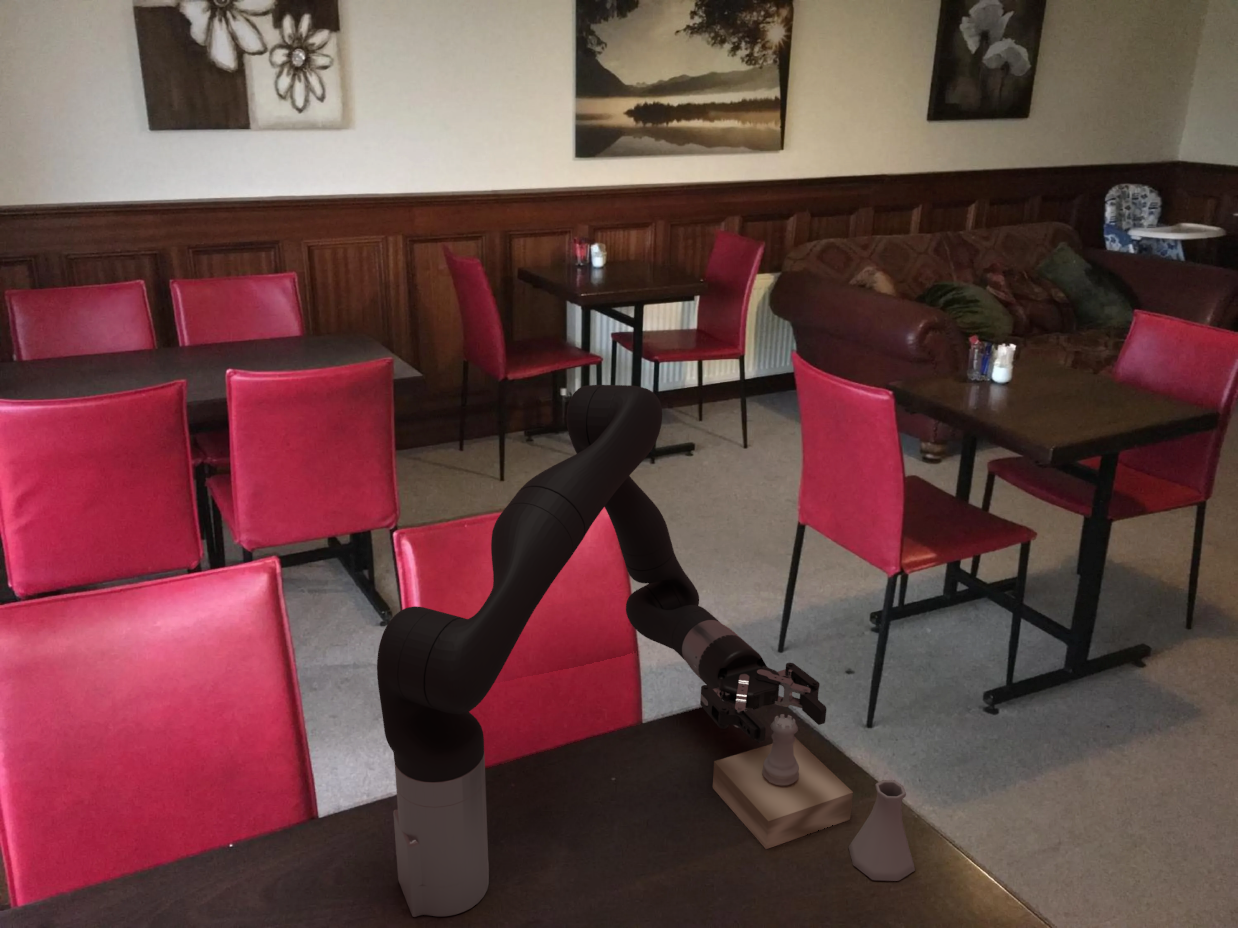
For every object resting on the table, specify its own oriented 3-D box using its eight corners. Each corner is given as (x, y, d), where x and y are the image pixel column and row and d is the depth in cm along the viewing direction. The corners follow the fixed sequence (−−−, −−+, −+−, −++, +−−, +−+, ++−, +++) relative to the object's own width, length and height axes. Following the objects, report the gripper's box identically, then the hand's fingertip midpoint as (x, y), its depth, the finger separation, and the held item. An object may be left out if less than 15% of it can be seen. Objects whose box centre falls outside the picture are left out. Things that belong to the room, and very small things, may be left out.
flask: (837, 845, 120) (845, 774, 116) (892, 833, 122) (901, 762, 118) (869, 889, 113) (878, 815, 110) (926, 875, 115) (937, 803, 112)
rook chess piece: (797, 765, 127) (802, 710, 124) (800, 789, 123) (805, 732, 120) (761, 763, 127) (765, 708, 125) (762, 786, 123) (766, 729, 120)
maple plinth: (766, 849, 119) (768, 820, 118) (712, 787, 129) (714, 761, 128) (849, 819, 124) (853, 792, 122) (792, 762, 134) (794, 736, 133)
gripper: (675, 646, 130) (744, 714, 117) (769, 622, 136) (845, 685, 123) (673, 696, 133) (740, 769, 119) (765, 671, 139) (840, 738, 125)
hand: (793, 726), depth 121 cm, fingers open, 8 cm apart
